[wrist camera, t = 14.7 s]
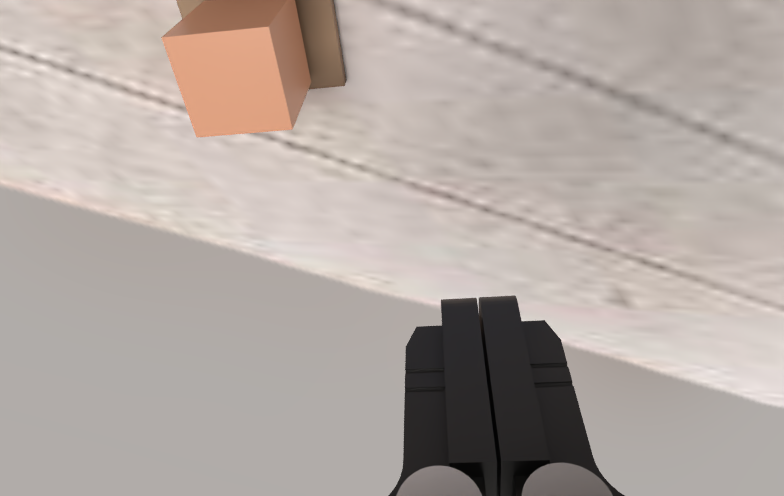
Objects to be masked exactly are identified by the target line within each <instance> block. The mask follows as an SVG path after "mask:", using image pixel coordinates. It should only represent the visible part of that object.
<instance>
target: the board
mask: <svg viewBox="0 0 784 496" xmlns="http://www.w3.org/2000/svg"><path fill="white" fill-rule="evenodd" d="M203 1H209V0H177V4H178V7H179V10H180V13H181V16H182V19H183V18H185V17H186V16H187V15H188V14H189V13H190V12H191V11H193V10H194V9H195V8H196V7H197V6H198V5H200V4H201V3H202V2H203ZM295 3H296V8H297V13H298V18H299V23H300V28H301V33H302V38H303V43H304V48H305V53H306V58H307V63H308V68H309V73H310V78H311V84H310V86H309V89H315V88H326V87H337V86H345V82H346V76H345V70H344V64H343V58H342V51H341V45H340V39H339V33H338V27H337V21H336V14H335V8H334V2H333V0H295Z"/></svg>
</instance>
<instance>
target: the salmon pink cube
mask: <svg viewBox="0 0 784 496" xmlns="http://www.w3.org/2000/svg"><path fill="white" fill-rule="evenodd" d="M161 38H162V40H163V43H164V46H165V49H166V52H167V55H168V57H169V60H170V63H171V66H172V69H173V72H174V74H175V77H176V80H177V83H178V86H179V89H180V92H181V94H182V97H183V100H184V103H185V106H186V109H187V111H188V114H189V117H190V120H191V123H192V126H193V128H194V131H195V134H196V137H208V136H220V135H232V134H244V133H256V132H268V131H280V130H292V129H293V127H294V124H295V122H296V119H297V117H298V114H299V112H300V109H301V107H302V104H303V101H304V99H305V96H306V94H307V91H308V89H309V86H310V84H311V78H310V73H309V68H308V63H307V58H306V53H305V48H304V43H303V38H302V33H301V28H300V23H299V18H298V13H297V8H296V3H295V0H209V1H203V2H202V3H201V4H200V5H198V6H197V7H196V8H195V9H194V10H193V11H191V12H190V13H189V14H188V15H187V16H186V17H185V18H183V19H182V20H181V21H180V22H179V23H178V24H176V25H175V26H174V27H173V28H172V29H171V30H170V31H168V32H167V33H166V34H165V35H164V36H163V37H161Z"/></svg>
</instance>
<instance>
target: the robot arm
mask: <svg viewBox="0 0 784 496" xmlns="http://www.w3.org/2000/svg"><path fill="white" fill-rule="evenodd" d="M441 311H442V326H424V327H416V329H415V331H414V333H413V335H412V336H411V338H410V340H409V342H408V344H407V346H406V365H405V366H406V367H405V370H406V374H405V411H404V414H405V415H404V460H403V469H402V473H401V477H400V479H399V481H398V483H397V485H396V487H395V488H394V490H393V491H392V492H391V493H390V495H389V496H624V495H622V494H621V493H620V492H618V491H617V490H616V489H615V488H614V487H612V486H611V485H610V484H609V483H608V482H607V480H606V479H605V478H604V477H603V476H602V474H601V473H600V471H599V469H598V468H597V466H596V464H595V461H594V458H593V455H592V452H591V448H590V445H589V441H588V437H587V434H586V430H585V426H584V423H583V419H582V416H581V412H580V408H579V405H578V401H577V398H576V394H575V390H574V387H573V385H572V379H571V375H570V372H569V368H568V367H567V361H566V358H565V353H564V350H563V346H562V342H561V339H560V338H559V337H558V336H557V335H556V333H555V332H554V331H553V330H552V329H551V328H550V326H549V325H548V324H547V323H546V322H545V320H543V321H522V322H521V317H520V312H519V307H518V302H517V299H516V296H499V297H480V298H479V313H478V305H477V299H476V298H464V299H446V300H441Z"/></svg>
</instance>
